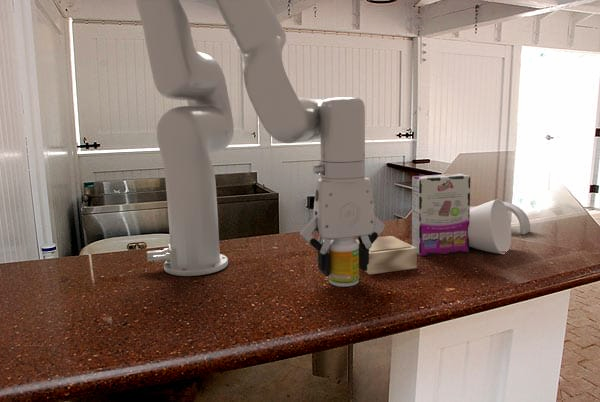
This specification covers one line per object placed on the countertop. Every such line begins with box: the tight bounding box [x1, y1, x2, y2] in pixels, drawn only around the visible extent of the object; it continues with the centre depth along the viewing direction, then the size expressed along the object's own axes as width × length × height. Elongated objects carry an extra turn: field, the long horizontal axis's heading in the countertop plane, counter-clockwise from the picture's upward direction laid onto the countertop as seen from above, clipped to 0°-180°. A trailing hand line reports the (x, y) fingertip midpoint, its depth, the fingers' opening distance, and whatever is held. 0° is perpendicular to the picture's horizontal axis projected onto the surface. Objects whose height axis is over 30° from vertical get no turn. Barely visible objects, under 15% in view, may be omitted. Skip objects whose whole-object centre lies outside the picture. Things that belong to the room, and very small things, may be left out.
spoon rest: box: [470, 201, 531, 236], centre depth 124 cm, size 24×12×7 cm, turn 48°
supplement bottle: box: [328, 237, 360, 288], centre depth 85 cm, size 5×5×10 cm
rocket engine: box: [468, 198, 512, 255], centre depth 107 cm, size 12×12×18 cm
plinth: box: [355, 235, 418, 275], centre depth 96 cm, size 10×10×4 cm
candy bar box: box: [411, 173, 471, 256], centre depth 102 cm, size 11×5×16 cm, turn 98°
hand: (343, 270), depth 86 cm, fingers open, 6 cm apart
